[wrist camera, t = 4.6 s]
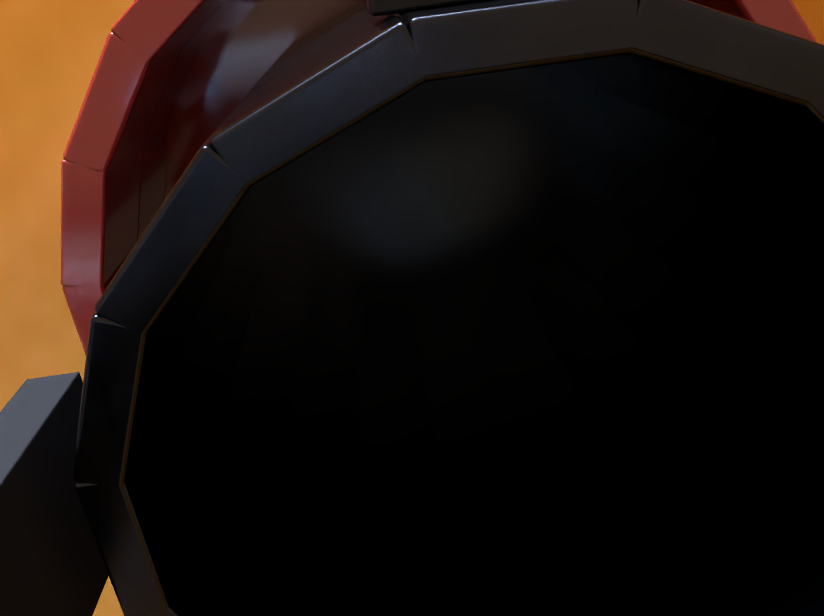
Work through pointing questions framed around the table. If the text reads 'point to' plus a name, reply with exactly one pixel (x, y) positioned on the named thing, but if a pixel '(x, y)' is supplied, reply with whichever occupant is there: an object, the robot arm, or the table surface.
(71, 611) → the robot arm
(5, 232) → the table surface
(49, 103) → the table surface
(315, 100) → the black cylindrical cup
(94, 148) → the casserole
